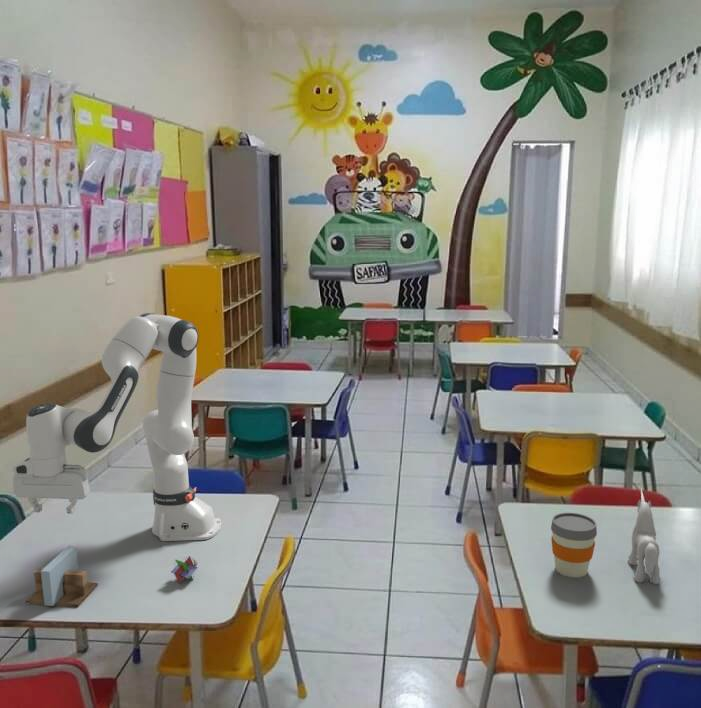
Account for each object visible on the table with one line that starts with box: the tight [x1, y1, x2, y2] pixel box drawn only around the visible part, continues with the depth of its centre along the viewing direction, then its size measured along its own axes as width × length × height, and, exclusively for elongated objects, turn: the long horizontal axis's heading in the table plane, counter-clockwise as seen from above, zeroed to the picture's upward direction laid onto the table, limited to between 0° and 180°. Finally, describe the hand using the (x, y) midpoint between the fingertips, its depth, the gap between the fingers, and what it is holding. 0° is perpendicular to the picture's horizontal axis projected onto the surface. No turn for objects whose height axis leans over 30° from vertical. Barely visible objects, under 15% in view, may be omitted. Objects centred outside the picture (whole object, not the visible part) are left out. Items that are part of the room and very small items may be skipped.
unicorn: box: [627, 488, 661, 585], centre depth 204 cm, size 8×25×20 cm, turn 167°
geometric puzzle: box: [170, 556, 199, 585], centre depth 201 cm, size 7×7×8 cm
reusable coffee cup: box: [550, 512, 598, 578], centre depth 203 cm, size 13×13×15 cm
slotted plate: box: [41, 545, 80, 607], centre depth 193 cm, size 14×2×10 cm, turn 173°
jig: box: [25, 567, 99, 608], centre depth 194 cm, size 15×11×7 cm
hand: (54, 512), depth 191 cm, fingers open, 8 cm apart
